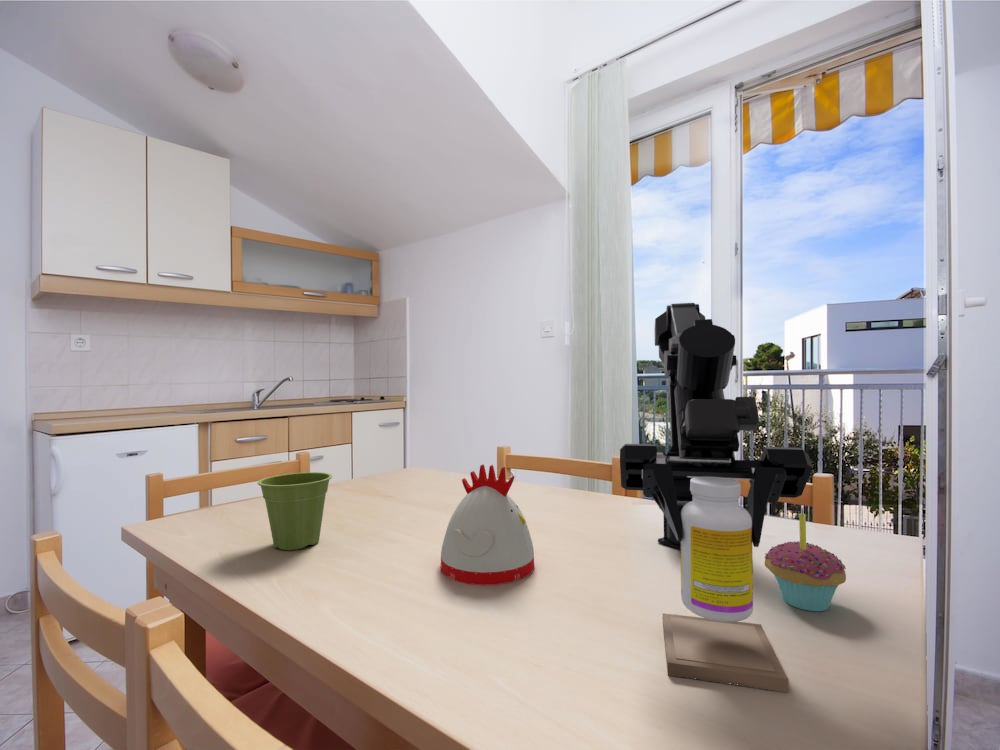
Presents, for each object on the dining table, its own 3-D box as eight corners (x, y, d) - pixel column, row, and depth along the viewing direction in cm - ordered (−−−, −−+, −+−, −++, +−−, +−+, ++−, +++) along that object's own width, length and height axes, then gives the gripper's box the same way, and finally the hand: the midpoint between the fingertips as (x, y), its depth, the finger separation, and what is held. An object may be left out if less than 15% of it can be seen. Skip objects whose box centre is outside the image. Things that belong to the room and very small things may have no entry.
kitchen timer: (517, 590, 65) (516, 476, 65) (424, 577, 70) (423, 470, 70) (544, 555, 78) (543, 459, 78) (464, 545, 83) (463, 456, 83)
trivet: (662, 624, 56) (662, 612, 56) (761, 635, 53) (760, 623, 53) (667, 675, 46) (667, 661, 46) (788, 692, 43) (788, 678, 43)
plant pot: (323, 529, 93) (322, 469, 93) (340, 546, 83) (340, 479, 83) (253, 541, 86) (253, 476, 86) (263, 561, 76) (262, 488, 77)
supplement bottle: (768, 623, 47) (767, 487, 47) (701, 627, 46) (700, 489, 46) (729, 592, 53) (728, 473, 53) (669, 595, 53) (669, 475, 53)
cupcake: (849, 626, 55) (847, 517, 55) (762, 608, 59) (760, 507, 59) (844, 596, 62) (842, 501, 62) (767, 582, 66) (766, 493, 67)
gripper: (619, 372, 56) (616, 492, 45) (805, 370, 51) (851, 504, 40) (622, 433, 64) (620, 549, 53) (784, 436, 59) (818, 564, 48)
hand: (717, 542), depth 48 cm, fingers closed on supplement bottle, 7 cm apart
